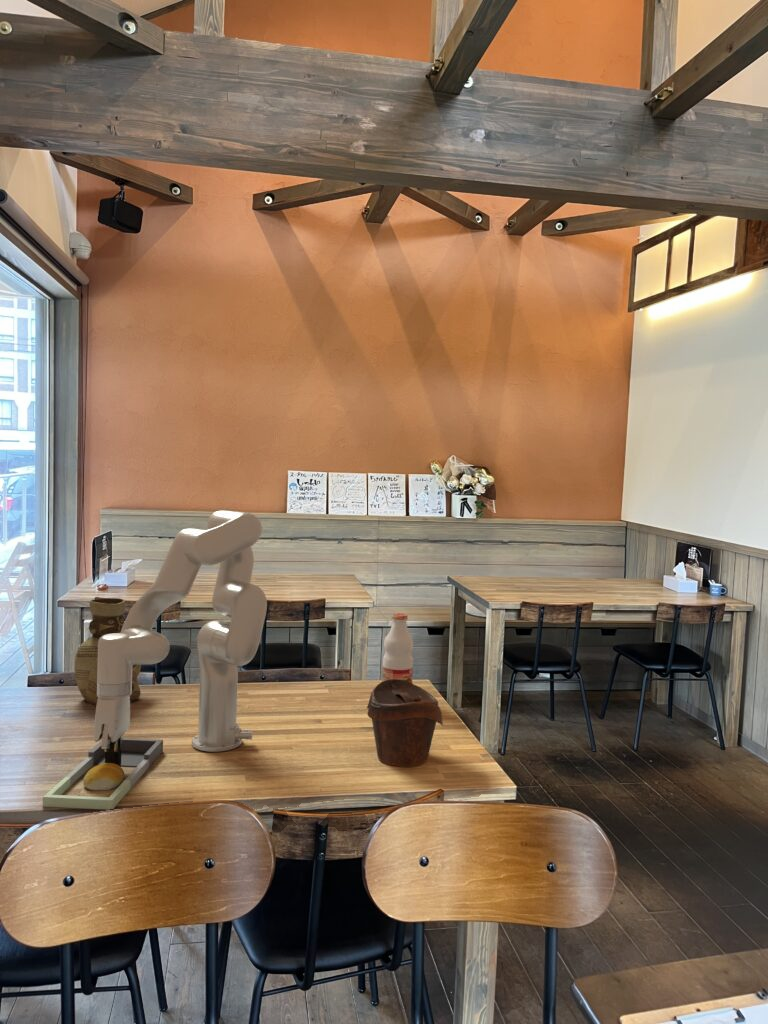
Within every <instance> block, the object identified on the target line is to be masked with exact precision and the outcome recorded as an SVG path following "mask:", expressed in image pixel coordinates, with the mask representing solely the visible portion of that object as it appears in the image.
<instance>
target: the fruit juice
mask: <svg viewBox="0 0 768 1024" xmlns="http://www.w3.org/2000/svg"><path fill="white" fill-rule="evenodd" d="M408 617H409V616H408V614H406V613H393V614H392V615H391V622H392V623H391V626H390V630H389V632H388V633H387V634H386V636H385V637H384V640H383V648H384V655H383V657H382V667H381V668H382V671H381V673H382V674H381V682H383V681H386V680H390V679H398V680H403V681H407V682H410V683H412V684H413V678H414V677H413V674H414V671H413V670H414V658H413V655H412V653H413V652H412V651H413V649H414V640H413V638H412V636H411V634H410V633H409V629H408V626H407V625H408V624H407V621H408Z"/></svg>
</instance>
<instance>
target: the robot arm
mask: <svg viewBox="0 0 768 1024" xmlns="http://www.w3.org/2000/svg"><path fill="white" fill-rule="evenodd" d="M207 520H208V521H207V529H204V528H203V529H202V528H195V527H194V528H193V527H191V528H183V529H182V530H180V531H179V532H177V534H176V535H175V537H174V539H173V541H172V543H171V546H170V547H169V549H168V552H167V554H166V556H165V559H164V560H163V563H162V565H161V568H160V570H159V572H158V574H157V576H156V578H155V581H154V582H153V583H152V585H151V586H150V587H149V588H148V589H147V590H146V591H145V592H144V593H143V594H142V595H141V596H140V597H139V598H138V599H137V601H135V603H134V604H133V605H132V607H131V609H130V610H129V612H128V614H127V617H126V619H124V625H123V627H122V630H121V632H120V633H112V634H106V635H103V636H102V637H100V639H99V641H98V670H97V697H99V698H98V701H97V706H96V705H95V706H96V707H95V712H94V713H95V715H94V716H95V717H94V725H93V726H94V727H93V741H94V742H99V741H102V745H101V749H104V751H105V763H114V764H117V765H119V766H120V767H122V766H121V749H119V748H122V740H123V738H124V735H125V734H126V733H127V732H128V731H129V728H130V727H131V726H130V725H131V702H130V695H131V694H132V665H135V664H141V665H155V664H158V663H160V662H162V661H164V660H165V659H166V658H167V656H168V655H169V653H170V648H171V647H170V642H169V640H168V638H167V637H166V636H165V635H164V634H162V633H160V632H157V631H155V630H153V627H154V625H155V623H156V621H157V620H158V618H159V616H161V614H162V613H163V612H164V611H165V610H167V609H168V608H169V607H171V606H172V605H173V606H174V604H177V603H178V602H181V601H183V600H184V599H187V597H188V596H189V595H190V592H191V589H192V588H193V585H194V583H195V580H196V579H197V576H198V573H199V571H200V569H201V567H202V566H207V567H210V566H215V565H217V564H219V567H218V572H217V577H216V580H215V585H214V590H213V594H212V596H211V597H212V598H211V606H212V609H213V611H214V612H216V613H217V614H219V615H221V616H223V617H226V618H230V622H227V621H223V620H211V621H209V622H207V623H205V624H204V625H202V627H201V628H200V630H199V632H198V634H197V639H196V649H197V654H198V664H199V689H198V690H199V692H198V694H199V695H198V697H199V698H198V729H197V734H196V735H195V736H193V737H192V738H191V746H192V747H193V748H194V749H196V750H199V751H202V752H211V753H217V752H226V751H230V750H233V749H236V748H238V747H239V746H240V745H242V742H243V740H253V737H254V734H253V733H254V732H253V731H251V729H250V728H245V729H242V728H241V727H240V722H237V714H238V712H237V710H238V709H237V707H238V682H239V681H238V680H239V676H238V675H239V674H238V667H241V666H242V667H243V666H245V665H248V664H249V663H250V662H251V661H252V660H253V659H254V658H255V656H256V654H257V651H258V648H259V645H260V642H261V636H262V632H263V630H264V629H263V628H264V625H265V621H266V616H267V610H268V600H267V597H266V594H265V592H264V591H263V589H262V588H261V587H260V586H258V585H256V584H253V583H251V581H252V576H253V569H254V565H255V564H254V560H255V559H254V552H253V549H252V546H254V545H255V544H256V543H257V542H258V541H259V540H260V537H261V535H262V533H263V532H262V531H263V530H262V529H263V525H262V522H261V520H260V519H259V518H258V517H257V516H256V515H254V514H253V513H250V512H244V511H236V510H226V509H225V510H217V511H214V512H213V513H212V514H211V515H209V517H208V519H207Z"/></svg>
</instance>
